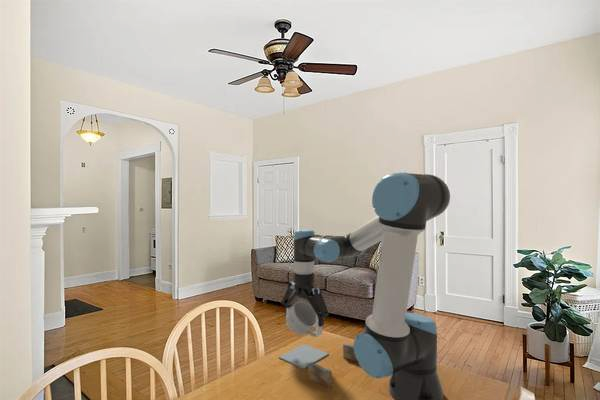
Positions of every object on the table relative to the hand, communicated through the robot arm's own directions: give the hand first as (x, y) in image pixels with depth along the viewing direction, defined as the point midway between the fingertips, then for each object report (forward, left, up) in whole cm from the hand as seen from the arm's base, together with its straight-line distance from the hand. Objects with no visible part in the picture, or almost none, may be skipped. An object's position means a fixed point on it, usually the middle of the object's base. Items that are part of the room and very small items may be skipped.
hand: (303, 330), depth 123 cm
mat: (0, 0, -10) cm, 10 cm away
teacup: (+3, +1, 0) cm, 3 cm away
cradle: (-15, 0, -10) cm, 18 cm away
